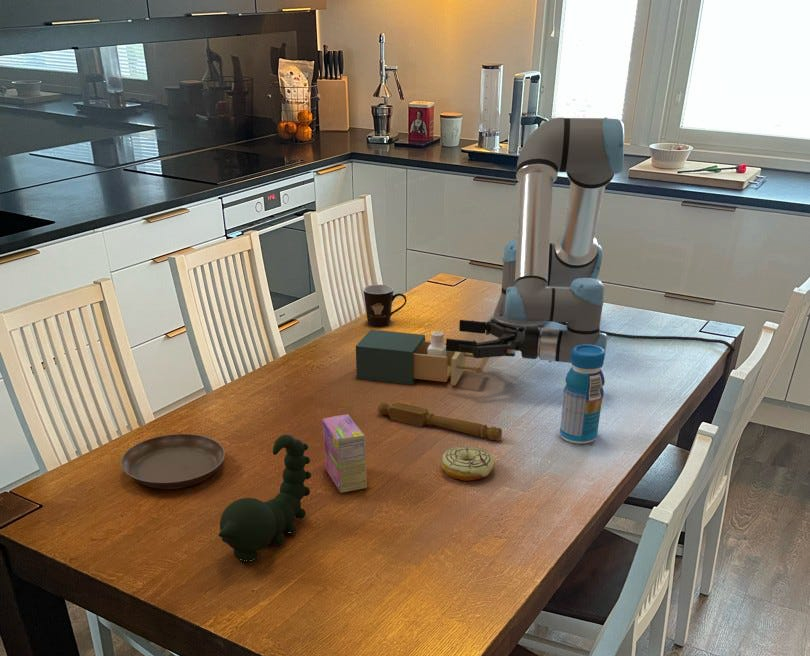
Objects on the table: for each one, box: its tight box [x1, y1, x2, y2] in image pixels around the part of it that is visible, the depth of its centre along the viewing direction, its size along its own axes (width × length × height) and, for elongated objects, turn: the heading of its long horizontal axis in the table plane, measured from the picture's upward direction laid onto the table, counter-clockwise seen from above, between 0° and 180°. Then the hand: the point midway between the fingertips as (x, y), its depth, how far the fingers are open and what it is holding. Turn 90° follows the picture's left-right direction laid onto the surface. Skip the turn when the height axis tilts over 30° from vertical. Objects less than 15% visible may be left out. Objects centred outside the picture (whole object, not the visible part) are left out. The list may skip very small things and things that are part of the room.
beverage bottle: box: [559, 345, 606, 445], centre depth 183 cm, size 8×8×20 cm
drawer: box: [413, 340, 490, 386], centre depth 212 cm, size 20×11×7 cm, turn 74°
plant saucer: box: [120, 433, 226, 490], centre depth 175 cm, size 21×21×3 cm
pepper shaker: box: [428, 330, 446, 357], centre depth 212 cm, size 4×4×10 cm
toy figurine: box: [218, 434, 312, 563], centre depth 149 cm, size 9×19×25 cm
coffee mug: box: [362, 284, 407, 328], centre depth 245 cm, size 12×9×10 cm
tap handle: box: [377, 402, 503, 442], centre depth 191 cm, size 3×3×30 cm
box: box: [321, 413, 368, 494], centre depth 169 cm, size 10×6×12 cm, turn 21°
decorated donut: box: [441, 446, 496, 482], centre depth 174 cm, size 10×11×4 cm
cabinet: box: [355, 329, 426, 386], centre depth 216 cm, size 15×12×9 cm
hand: (453, 334), depth 208 cm, fingers open, 13 cm apart
